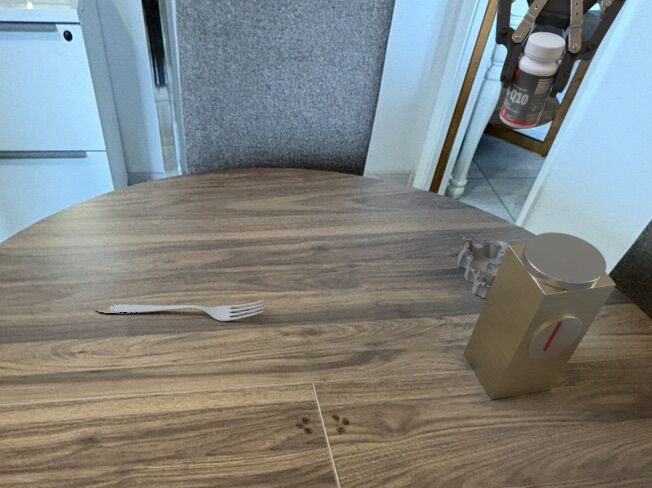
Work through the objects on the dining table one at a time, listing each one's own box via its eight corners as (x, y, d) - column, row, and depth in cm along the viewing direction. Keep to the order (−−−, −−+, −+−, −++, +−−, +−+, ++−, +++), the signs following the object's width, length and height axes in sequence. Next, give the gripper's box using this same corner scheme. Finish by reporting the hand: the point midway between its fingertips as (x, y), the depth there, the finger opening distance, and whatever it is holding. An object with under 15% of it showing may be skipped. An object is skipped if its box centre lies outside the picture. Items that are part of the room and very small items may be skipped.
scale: (520, 343, 88) (580, 228, 73) (553, 392, 83) (624, 279, 68) (462, 352, 86) (510, 236, 71) (491, 402, 82) (550, 289, 66)
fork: (96, 301, 88) (93, 291, 87) (263, 308, 89) (264, 298, 88) (92, 316, 87) (90, 306, 85) (263, 323, 88) (264, 313, 86)
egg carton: (452, 256, 98) (459, 233, 95) (496, 254, 99) (506, 231, 96) (472, 300, 93) (481, 277, 89) (519, 298, 93) (530, 275, 90)
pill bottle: (490, 114, 75) (516, 33, 68) (521, 107, 77) (549, 27, 70) (515, 133, 73) (544, 51, 66) (546, 125, 74) (577, 44, 67)
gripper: (526, -120, 64) (471, 61, 68) (668, -100, 62) (604, 86, 66) (513, -68, 71) (465, 93, 75) (640, -48, 69) (584, 116, 73)
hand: (530, 89), depth 70 cm, fingers closed on pill bottle, 4 cm apart
